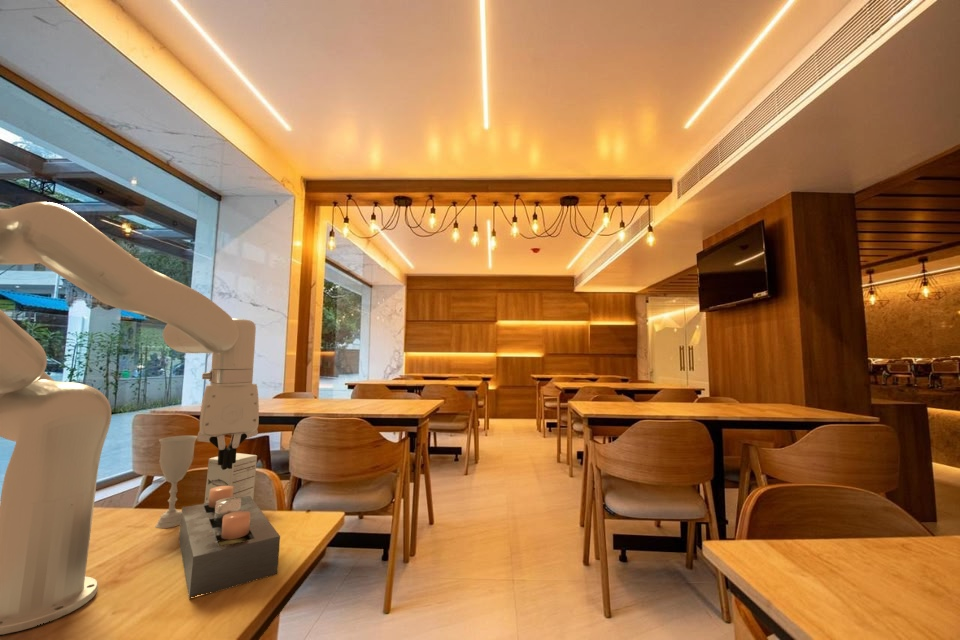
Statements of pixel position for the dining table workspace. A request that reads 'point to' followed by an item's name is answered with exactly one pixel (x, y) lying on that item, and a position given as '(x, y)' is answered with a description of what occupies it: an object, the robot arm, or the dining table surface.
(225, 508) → the middle knob
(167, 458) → the chalice
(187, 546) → the knob housing
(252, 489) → the supplement box
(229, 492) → the far knob
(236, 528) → the near knob
